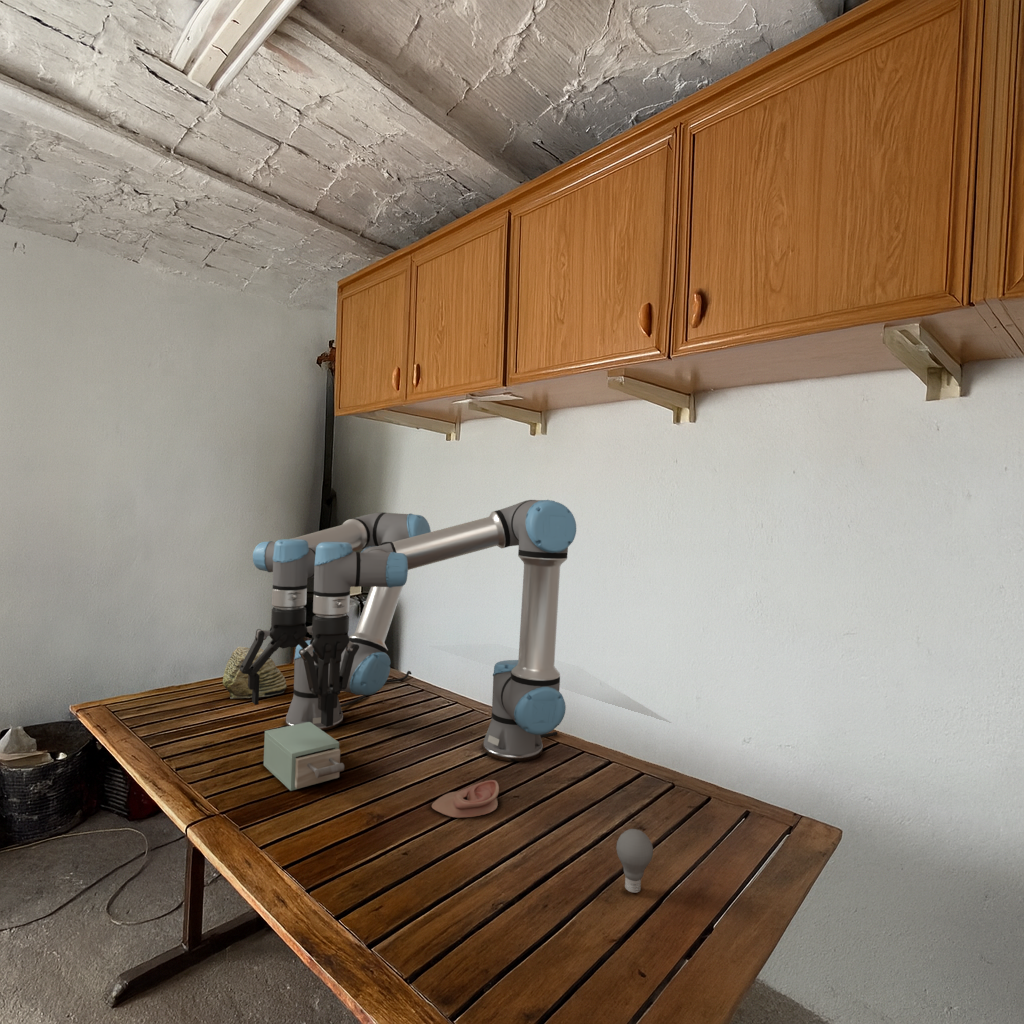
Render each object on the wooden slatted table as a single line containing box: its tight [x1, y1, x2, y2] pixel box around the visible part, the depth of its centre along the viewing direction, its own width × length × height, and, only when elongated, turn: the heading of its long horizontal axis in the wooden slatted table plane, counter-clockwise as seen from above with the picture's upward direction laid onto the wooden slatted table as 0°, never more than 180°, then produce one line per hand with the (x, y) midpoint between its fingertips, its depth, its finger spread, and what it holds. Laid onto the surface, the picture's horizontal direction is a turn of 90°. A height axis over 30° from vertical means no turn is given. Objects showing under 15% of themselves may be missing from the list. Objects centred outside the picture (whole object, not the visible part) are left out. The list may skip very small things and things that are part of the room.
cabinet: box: [263, 722, 340, 792], centre depth 145 cm, size 16×11×8 cm
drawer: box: [295, 748, 345, 790], centre depth 141 cm, size 21×10×6 cm, turn 41°
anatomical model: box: [431, 779, 500, 819], centre depth 132 cm, size 13×4×12 cm
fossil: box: [222, 646, 288, 699], centre depth 198 cm, size 9×18×15 cm, turn 132°
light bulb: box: [615, 828, 654, 894], centre depth 106 cm, size 6×6×10 cm
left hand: (286, 698), depth 146 cm, fingers open, 13 cm apart
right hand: (326, 724), depth 136 cm, fingers closed
